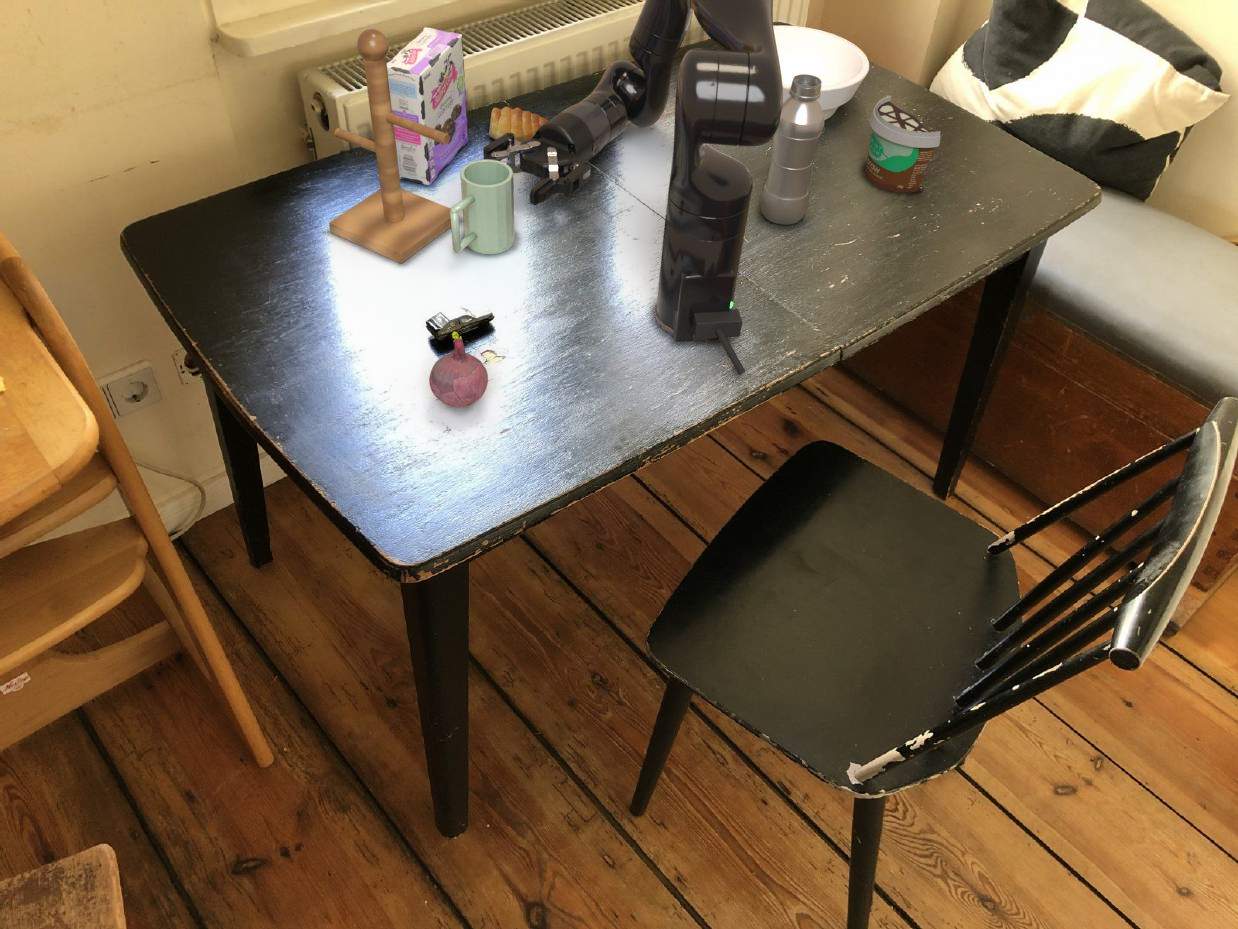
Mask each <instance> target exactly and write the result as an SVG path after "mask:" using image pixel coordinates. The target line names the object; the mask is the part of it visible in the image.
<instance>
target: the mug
mask: <svg viewBox="0 0 1238 929" xmlns="http://www.w3.org/2000/svg"><path fill="white" fill-rule="evenodd" d="M459 176H460V189H461V200H460V201H459V202H458V203H456V204H454V205H453V206H452V207H451V209H450V218H451V227H450V229H451V242H452V243H451V244H452V251H453V252H454V253H456V254H459V253H460V252H461V251H463V250H464V249H465V248H468V249H470V250H471V251H473V252H474V253H477V254H482V255H498V254H501V253H504V252H506V251H508V250H510V249H511V248H512V247H513V246H514V244H515V238H516V237H515V236H516V235H515V192H514V191H515V190H514V188H515V187H514V174H513V172H512V169H511V168H510V167H509V166H508V165H507V164H506V163H505V162H503V161H501V160H500V161H497V160H490V159H485V160H484V159H477V160H474V161H473V160H472V161H469V162H468V163H466V164H465V165H463V166H462V167H461V169H460V172H459ZM461 212H462V218H463V219H462V220H463V222H462V223H463V235H464V236H463V237H464V238H462V239H461V232H460V231H461V230H460V229H461V228H460V216H459V215H458V214H460V213H461Z"/></svg>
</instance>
